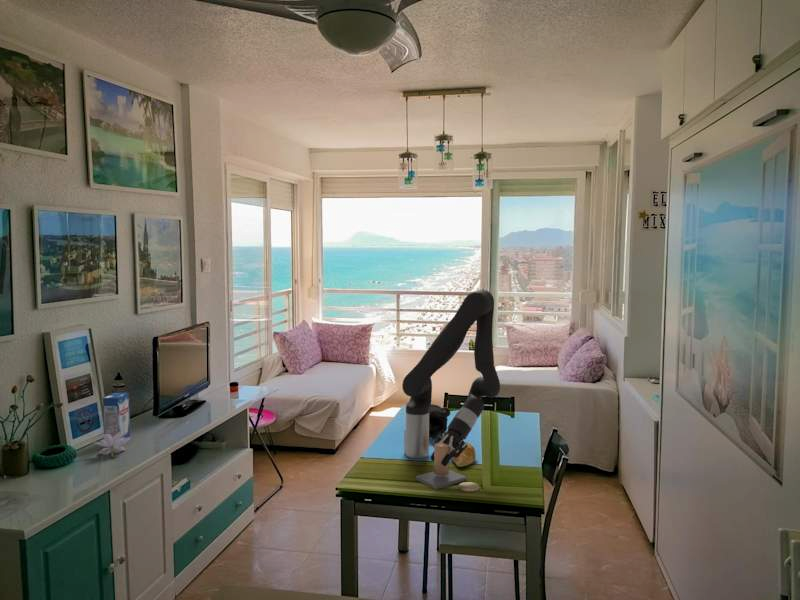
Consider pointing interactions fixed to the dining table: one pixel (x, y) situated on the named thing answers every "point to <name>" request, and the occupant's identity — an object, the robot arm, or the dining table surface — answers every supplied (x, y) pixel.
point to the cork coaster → (469, 486)
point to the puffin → (437, 420)
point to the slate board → (440, 479)
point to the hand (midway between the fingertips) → (437, 462)
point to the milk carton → (116, 414)
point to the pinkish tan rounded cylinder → (440, 459)
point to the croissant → (465, 456)
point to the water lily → (112, 443)
